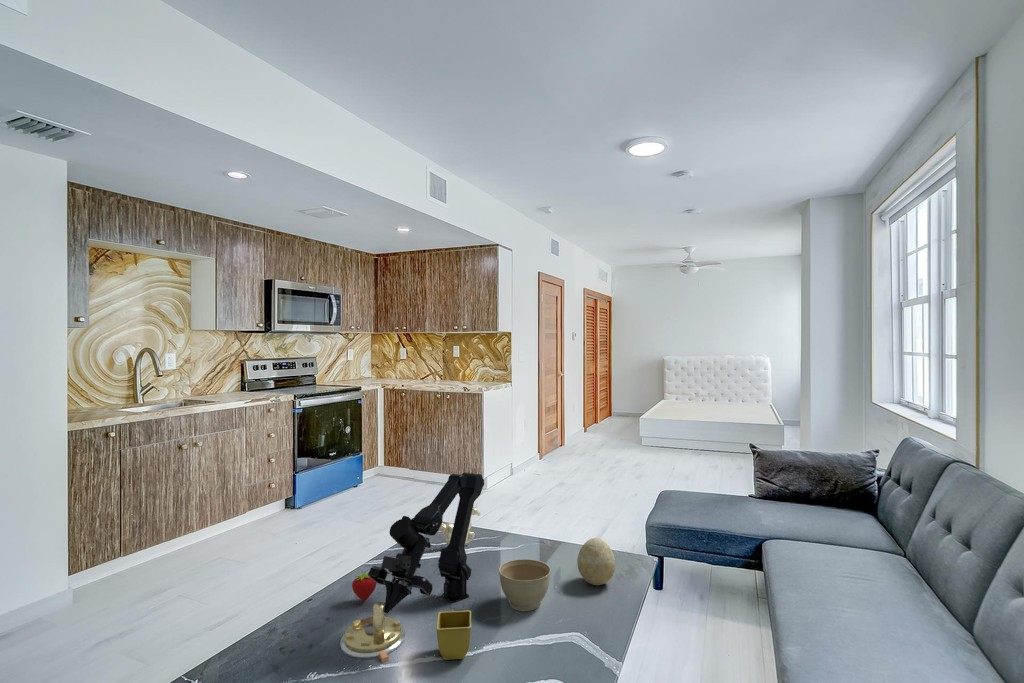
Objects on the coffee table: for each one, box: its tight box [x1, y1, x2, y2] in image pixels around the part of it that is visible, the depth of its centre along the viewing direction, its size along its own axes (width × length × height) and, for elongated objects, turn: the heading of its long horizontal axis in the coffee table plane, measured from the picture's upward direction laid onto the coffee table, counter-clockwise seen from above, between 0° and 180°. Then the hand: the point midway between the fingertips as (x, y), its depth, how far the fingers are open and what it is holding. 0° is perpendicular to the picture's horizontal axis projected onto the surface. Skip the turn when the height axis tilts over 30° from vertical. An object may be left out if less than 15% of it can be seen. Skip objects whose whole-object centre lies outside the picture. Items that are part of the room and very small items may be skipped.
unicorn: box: [438, 502, 481, 546], centre depth 202 cm, size 20×4×17 cm, turn 111°
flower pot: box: [436, 610, 472, 661], centre depth 131 cm, size 9×9×9 cm
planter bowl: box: [498, 558, 552, 612], centre depth 157 cm, size 16×16×11 cm
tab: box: [378, 651, 389, 663], centre depth 129 cm, size 3×2×1 cm, turn 31°
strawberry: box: [351, 571, 378, 602], centre depth 159 cm, size 6×8×10 cm
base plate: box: [339, 623, 406, 660], centre depth 138 cm, size 17×17×4 cm
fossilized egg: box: [576, 537, 616, 586], centre depth 171 cm, size 13×13×15 cm
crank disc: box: [343, 601, 402, 653], centre depth 138 cm, size 15×15×11 cm
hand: (385, 613), depth 133 cm, fingers closed, pressing on crank disc
